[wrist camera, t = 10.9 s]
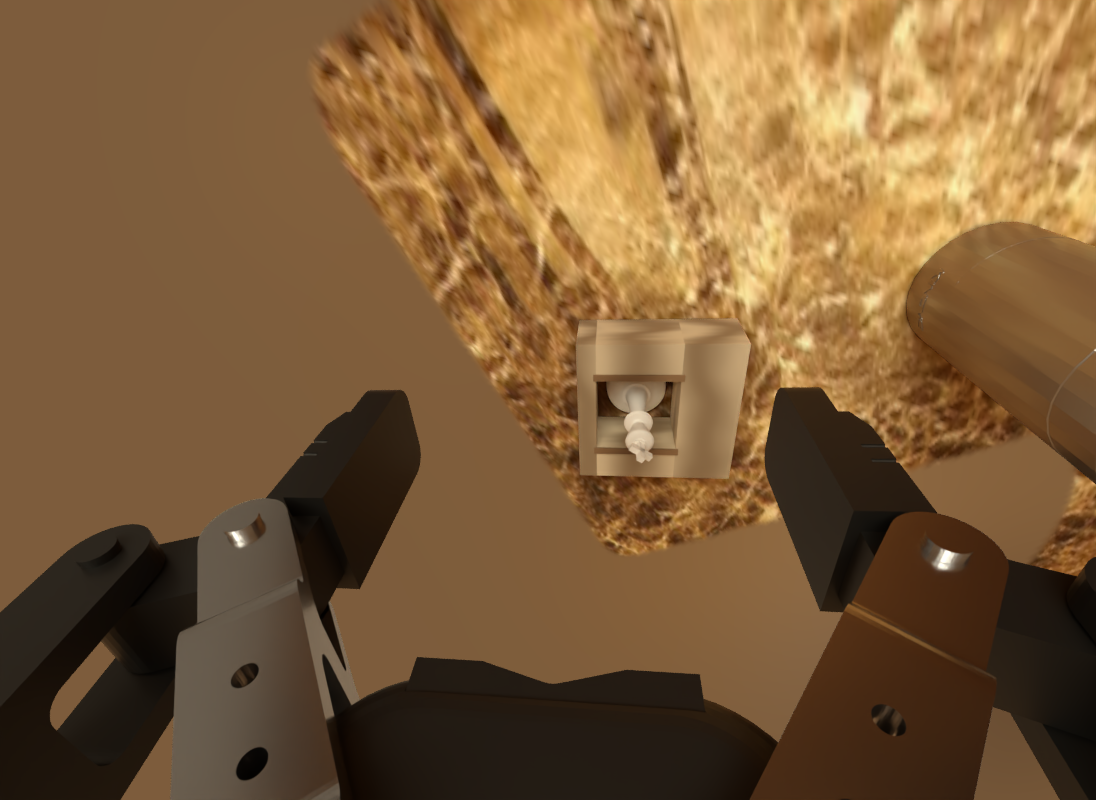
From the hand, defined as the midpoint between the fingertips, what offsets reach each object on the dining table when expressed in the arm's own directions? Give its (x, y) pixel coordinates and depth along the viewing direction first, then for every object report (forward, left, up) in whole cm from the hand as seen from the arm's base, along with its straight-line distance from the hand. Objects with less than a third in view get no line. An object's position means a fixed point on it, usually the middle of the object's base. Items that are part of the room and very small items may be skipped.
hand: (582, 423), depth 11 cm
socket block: (-4, +15, -28) cm, 32 cm away
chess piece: (-3, +15, -28) cm, 32 cm away
